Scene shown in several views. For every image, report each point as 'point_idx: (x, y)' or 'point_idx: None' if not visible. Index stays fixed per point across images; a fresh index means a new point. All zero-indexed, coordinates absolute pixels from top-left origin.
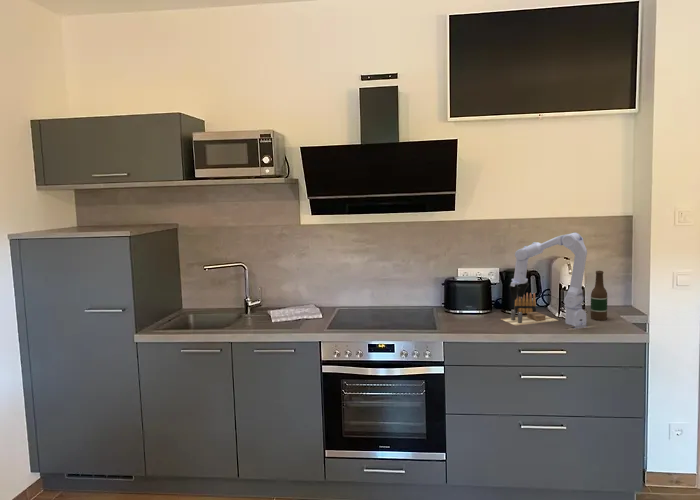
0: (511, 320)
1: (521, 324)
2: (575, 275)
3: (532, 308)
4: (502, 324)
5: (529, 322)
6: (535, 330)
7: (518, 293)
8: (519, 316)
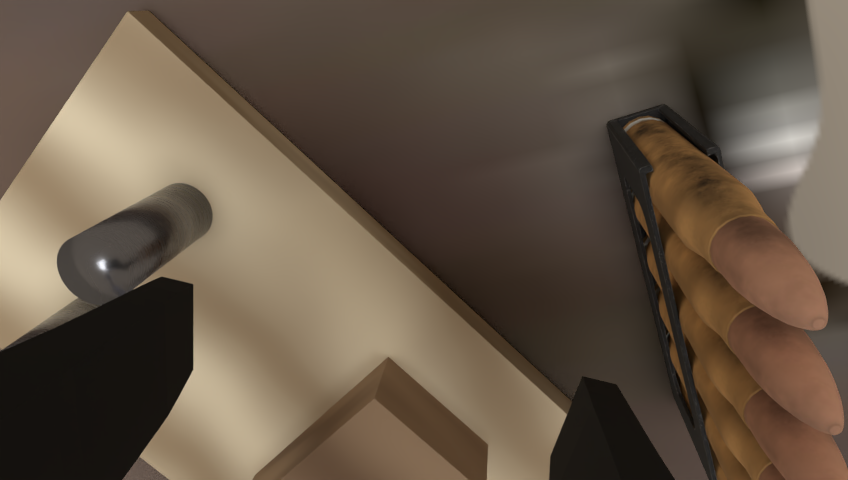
0: (136, 197)
1: None
2: None
3: (695, 429)
4: (17, 96)
5: None
6: None
7: (598, 427)
8: None
